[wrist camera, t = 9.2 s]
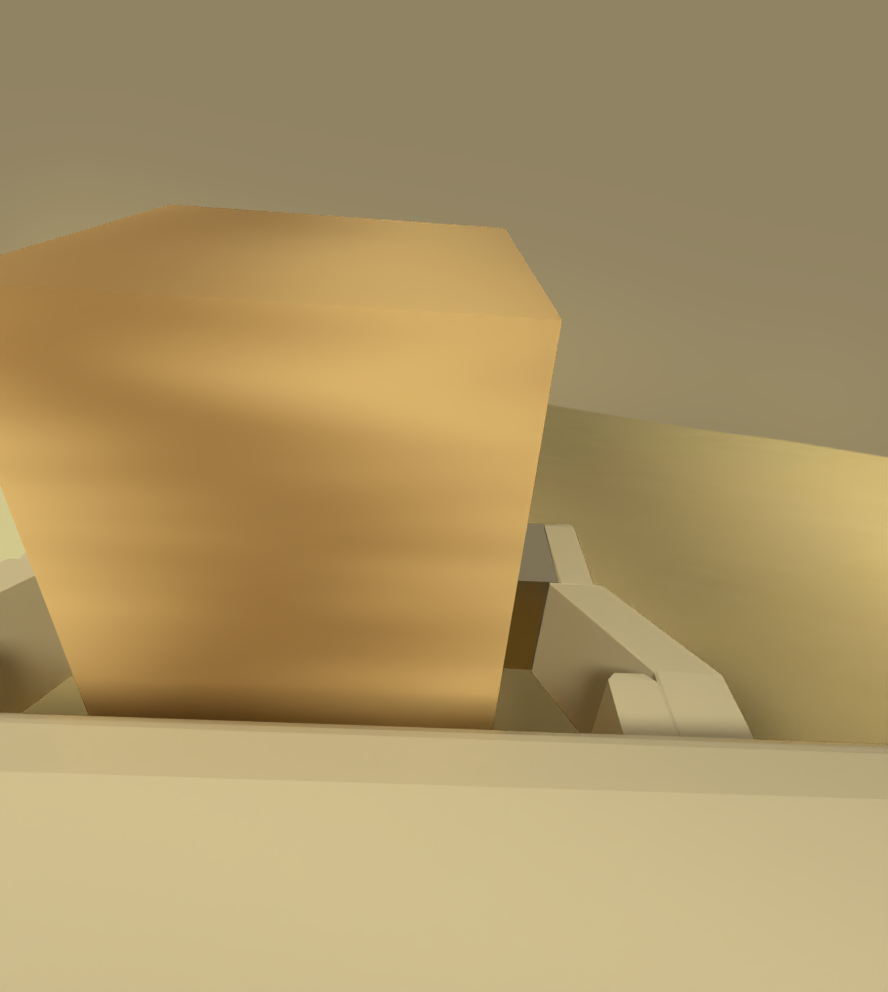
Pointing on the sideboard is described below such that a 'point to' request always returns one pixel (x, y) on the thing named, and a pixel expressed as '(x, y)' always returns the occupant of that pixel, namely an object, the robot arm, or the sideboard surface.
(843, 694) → the sideboard surface
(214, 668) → the maple block
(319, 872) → the robot arm
